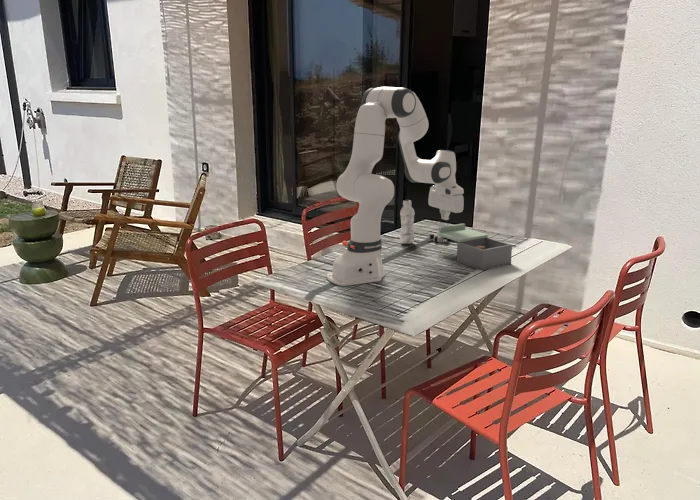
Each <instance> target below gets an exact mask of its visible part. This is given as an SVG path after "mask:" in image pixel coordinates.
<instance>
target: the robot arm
mask: <svg viewBox="0 0 700 500" xmlns="http://www.w3.org/2000/svg"><path fill="white" fill-rule="evenodd" d="M360 104H361V105H360V107H359V109H358V111H357V115H356V118H355V123H354V124H355V125H354V132H353V140H352V141H353V142H352V151H351V156H350V159H349V163H348V164H347V167H346V168H345V170H344V171H343V173H341V174H340V175H339V176H338V177H337V179H336V185H335V186H336V188H335V189H336V192H337V194H338V196H340V197H341V198H344V199H346V200H347V201H350V202H356V203H358V204H359V206H358V209H357V213H356V214H354V215H353V216H352V217H351V218H350V240H349V241H346V240H342V242H341V245H342V246H343V247H345V248H346V247H347V248H346V249H345V251H344V252H343V253H342V254H341V255H340V256H338V257H337V259H335V260H334V262H333V264H332V271H331V272H329V273H327V274H326V280H327V281H329V282H331V284H332V283H333V285H334V284H335V285H338V286H343V287H344V286H346V287H347V286H353V285H354V286H355V285H361V284H362V285H363V284H369V283H375V282H380V281H382V278H384V277H385V275H386V272H385V268H384V265H383V260H382V259H383V258H382V249H383V245H382V243H383V242H382V238H381V219H382V216H383V212H384V209H385V207H386V206H387V205H388V204H389V203H390V202H391V201H392V200H393V198H394V195H395V185H394V183H393V181H392V180H391V179H389V178H388V177H387V176H386V177H385V176H384V175H381V174H374V173H372V172H373V169H374V168H375V165H376V164H377V163H378V162H380V160H382V158H383V155H384V147H385V146H384V145H385V133H386V120H387V119H396V121H397V124H398V125H399V131H398V133H397V140H398V144H399V149H400V153H401V156H402V160H403V165H404V174H405V177H406V179H407V180H408V181H409V182H411V183H424V184H434V185H431V186H430V187H429V193H428V198H427V199H428V201H427V202H428V205H429V207H432V208H436V209H439V214H440V217H441V220H445V221H448V220H450V214H451V213H454V214H459V213H462V212H463V210H464V207H465V206H464V205H465V204H464V200H465V199H464V198H465V197H464V195H463V194H464V193H465V192H464V191H465V190H464V188H463V187H461V186H460V185H458V183H457V180H456V179H457V178H456V174H457V173H456V172H457V161H456V153H455V152H454V151H453V150H449V149H448V150H446V149H445V150H444V149H439V150H437V151H436V153H435V156H434V157H433V158H431V159H424V158H423V159H422V158H420V157H418V156H417V152H416V148H415V143H414V142H416V141H419V140H421V139H422V138H423V137H424V136H425V135H426V134H427V131H428V129H429V124H430V123H429V119H428V117H427V114H426V111H425V109H424V107H423V104H422V102H421V101H420V98H419V97H418V96H417V94H416V93H415V92H414V91H412V90H411V89H409V88H407V87H404V86H402V87H396V86H380V87H370V88H368V89H367V90H365V92H364V93H363V95H362V97H361V103H360Z"/></svg>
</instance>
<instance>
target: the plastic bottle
mask: <svg viewBox="0 0 700 500" xmlns="http://www.w3.org/2000/svg"><path fill="white" fill-rule="evenodd" d="M415 212H416V211H415V209H414V208H413V206H412V200H410V199H405V200H402V207H401V209H400V212H399V214H400V225H401V227H400V236H399V241H400V243H401V244H402V245H411V244H414V242H415V239H416V238H415V233H414V221H415V214H416V213H415Z"/></svg>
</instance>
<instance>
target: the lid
mask: <svg viewBox="0 0 700 500" xmlns="http://www.w3.org/2000/svg"><path fill="white" fill-rule="evenodd" d="M438 230H439V232H438V231H437V232H436V233H437V235H439V236H442V237H445V238H448V240H452V241H455V242H456V243H457V242H464V241H470V240H475V239H480V238H485V237H488V238H489V234H488V233H484V232H480V231H477V230H474V229H471V228H467V227H466V223H462V222H461V223H458V224H453V225H452V224H451V225H446V226H439V227H438Z"/></svg>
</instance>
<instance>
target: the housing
mask: <svg viewBox="0 0 700 500" xmlns="http://www.w3.org/2000/svg"><path fill="white" fill-rule="evenodd" d="M456 246H457V247H456V248H457V249H456V262H458V263H461V264H463V265H465V266H469V267H471V268H474V269H476V270H479V271H481V272H483V271H488V270H491V269H495V268H496V269H497V268H500V267H504V266H509V265H512V256H513V255H512V254H513V253H512V252H513V251H512V250H513V245H512V244H510V243H508V242H504V241H501V240H497V239H494V238H492V237H489V236H488V237H485V238H480V239H475V240H470V241H464V242H457V241H456ZM475 246H484V247H485V249H484V250H482V249H479V248H476V247H475Z"/></svg>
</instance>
